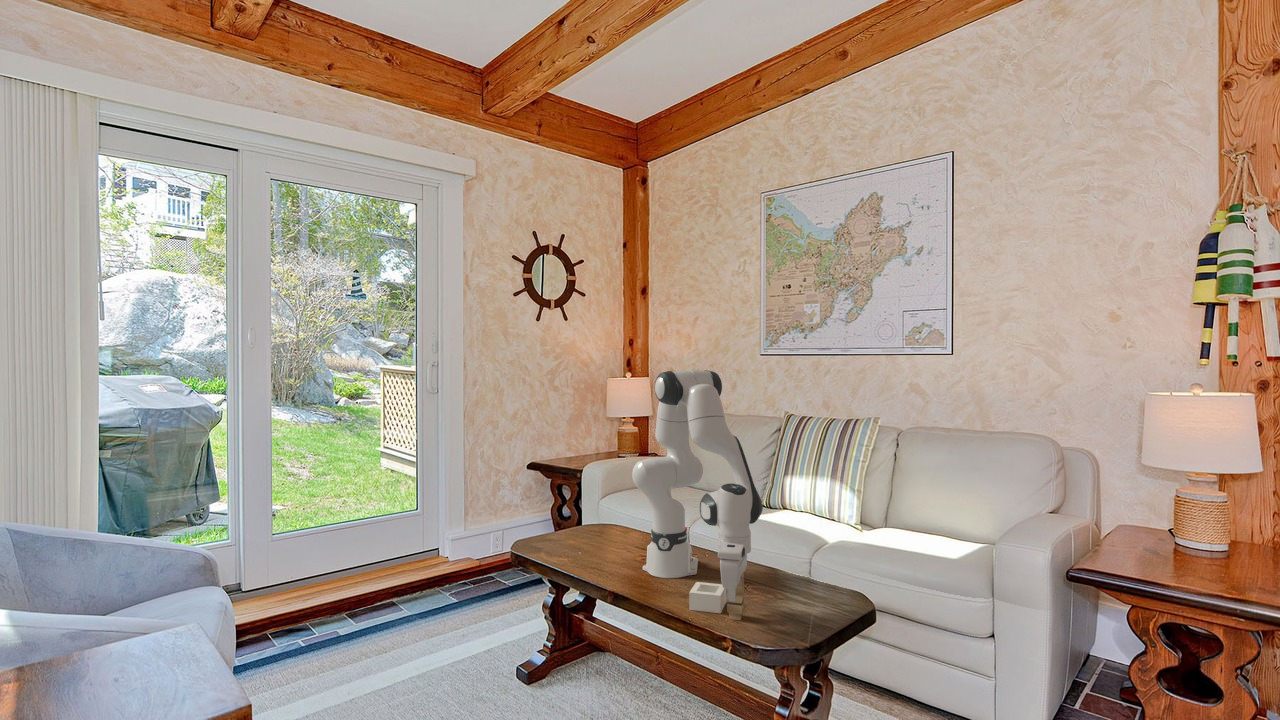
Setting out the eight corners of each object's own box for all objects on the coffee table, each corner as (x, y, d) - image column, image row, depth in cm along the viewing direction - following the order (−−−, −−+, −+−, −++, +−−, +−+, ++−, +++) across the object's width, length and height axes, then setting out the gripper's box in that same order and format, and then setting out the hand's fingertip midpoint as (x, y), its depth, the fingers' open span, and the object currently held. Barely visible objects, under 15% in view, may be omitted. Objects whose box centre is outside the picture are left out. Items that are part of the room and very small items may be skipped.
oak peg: (729, 613, 179) (729, 571, 179) (744, 615, 177) (743, 572, 177) (726, 619, 175) (726, 575, 175) (741, 621, 173) (741, 577, 173)
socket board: (696, 598, 190) (696, 581, 190) (726, 601, 187) (726, 584, 187) (689, 609, 182) (689, 592, 182) (720, 613, 179) (720, 595, 179)
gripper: (730, 533, 187) (730, 580, 187) (716, 553, 167) (717, 606, 167) (751, 535, 185) (752, 582, 185) (740, 555, 165) (741, 609, 165)
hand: (735, 594), depth 176 cm, fingers open, 8 cm apart
